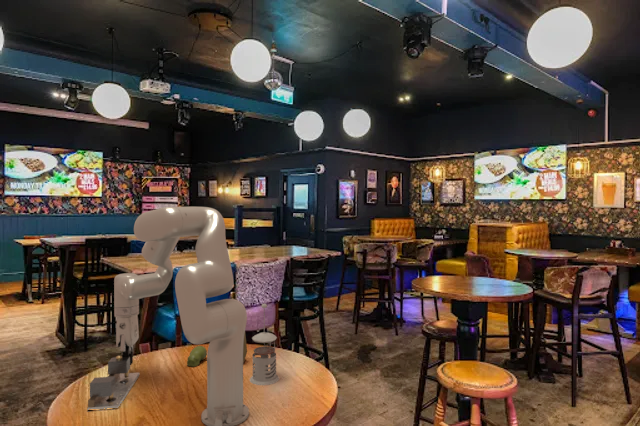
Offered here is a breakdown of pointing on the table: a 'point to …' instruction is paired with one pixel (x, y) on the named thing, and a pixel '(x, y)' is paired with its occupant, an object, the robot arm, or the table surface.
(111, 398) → the bolt plate
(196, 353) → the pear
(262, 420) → the table surface
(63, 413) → the table surface
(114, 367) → the grey block with knob
